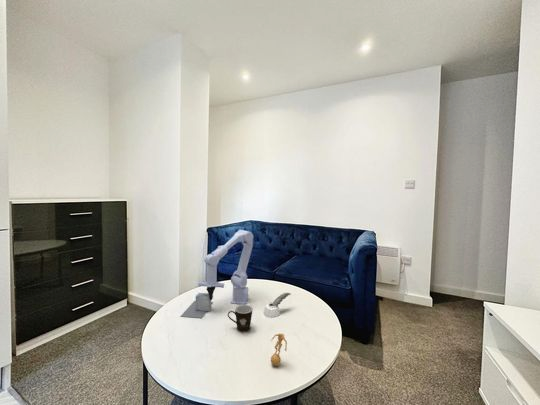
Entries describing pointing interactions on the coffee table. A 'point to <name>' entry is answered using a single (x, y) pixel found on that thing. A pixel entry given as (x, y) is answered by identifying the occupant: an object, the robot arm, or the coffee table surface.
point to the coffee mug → (242, 317)
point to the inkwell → (274, 306)
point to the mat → (193, 311)
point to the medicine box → (203, 302)
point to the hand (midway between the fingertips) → (211, 299)
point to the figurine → (275, 357)
